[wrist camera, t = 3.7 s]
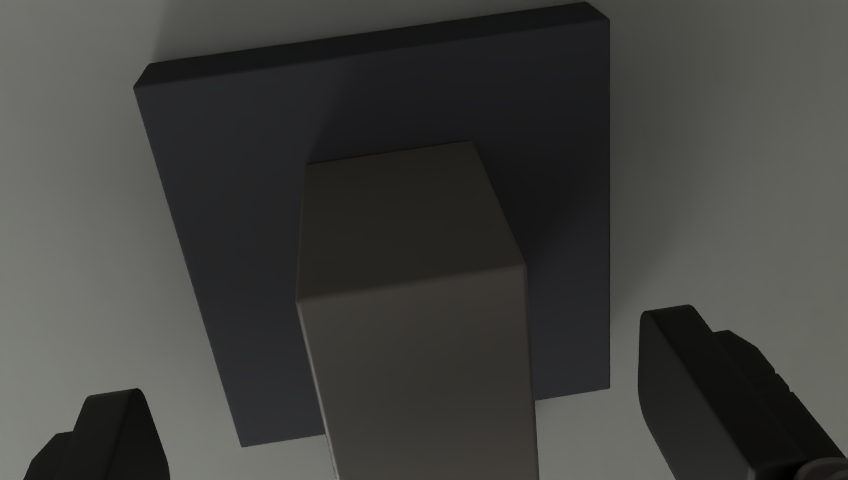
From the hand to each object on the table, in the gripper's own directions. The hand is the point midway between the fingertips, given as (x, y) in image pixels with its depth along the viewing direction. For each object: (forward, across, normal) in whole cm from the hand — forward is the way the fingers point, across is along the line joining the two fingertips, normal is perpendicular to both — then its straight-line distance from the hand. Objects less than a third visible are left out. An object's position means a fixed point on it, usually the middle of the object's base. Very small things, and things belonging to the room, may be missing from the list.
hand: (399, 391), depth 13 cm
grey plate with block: (+6, -1, +2) cm, 6 cm away
